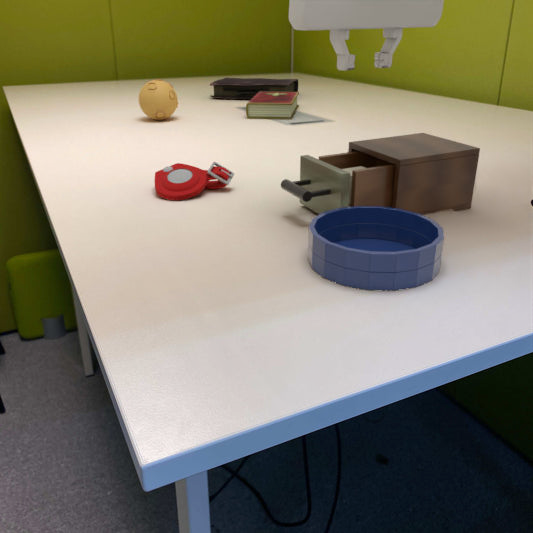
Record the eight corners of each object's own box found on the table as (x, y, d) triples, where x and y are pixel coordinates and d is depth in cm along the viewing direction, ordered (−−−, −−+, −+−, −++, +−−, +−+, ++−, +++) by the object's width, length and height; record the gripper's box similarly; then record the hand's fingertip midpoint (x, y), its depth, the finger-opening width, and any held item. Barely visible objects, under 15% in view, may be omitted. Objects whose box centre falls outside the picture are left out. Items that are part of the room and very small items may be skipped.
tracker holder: (169, 198, 80) (138, 168, 86) (175, 221, 83) (144, 191, 89) (238, 166, 84) (204, 140, 90) (241, 190, 87) (207, 163, 93)
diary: (227, 91, 189) (226, 76, 187) (298, 93, 184) (298, 77, 182) (209, 99, 173) (208, 82, 171) (287, 101, 167) (287, 84, 165)
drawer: (310, 231, 68) (312, 178, 65) (273, 207, 76) (272, 159, 74) (417, 211, 75) (422, 161, 72) (371, 190, 83) (374, 145, 80)
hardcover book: (246, 118, 143) (245, 101, 141) (258, 105, 162) (257, 90, 160) (291, 119, 141) (292, 102, 140) (298, 105, 160) (298, 90, 158)
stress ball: (137, 123, 138) (133, 81, 134) (144, 116, 147) (140, 77, 143) (177, 122, 138) (174, 81, 134) (181, 115, 147) (178, 76, 143)
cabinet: (394, 223, 73) (400, 159, 69) (345, 199, 82) (348, 141, 79) (470, 208, 78) (480, 148, 74) (416, 186, 88) (423, 132, 84)
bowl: (384, 232, 70) (387, 199, 68) (467, 277, 58) (474, 238, 56) (286, 253, 64) (286, 217, 62) (356, 307, 53) (359, 265, 51)
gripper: (307, -67, 56) (304, 76, 62) (459, -59, 64) (444, 66, 70) (279, -61, 61) (278, 71, 67) (423, -54, 69) (411, 63, 75)
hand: (364, 68), depth 68 cm, fingers open, 4 cm apart
